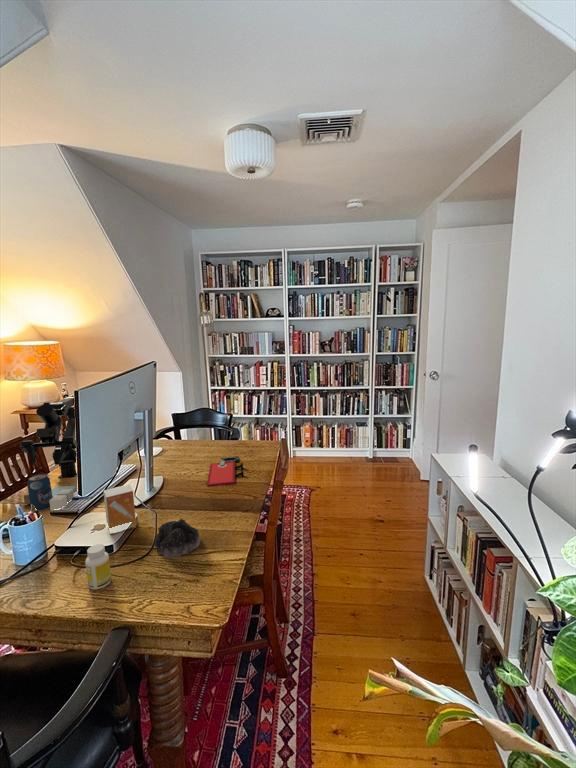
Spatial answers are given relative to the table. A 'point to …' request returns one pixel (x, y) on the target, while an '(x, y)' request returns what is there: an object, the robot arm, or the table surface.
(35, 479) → the soda can
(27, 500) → the walnut block
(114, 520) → the small box
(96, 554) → the supplement bottle
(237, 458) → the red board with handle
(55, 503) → the off-white block
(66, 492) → the grey block
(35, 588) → the table surface
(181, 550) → the crystal cluster
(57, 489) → the slate tile
